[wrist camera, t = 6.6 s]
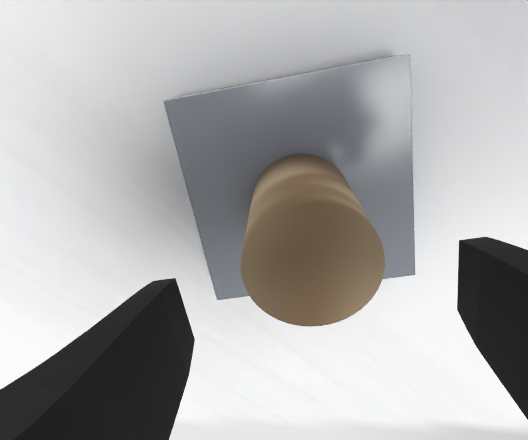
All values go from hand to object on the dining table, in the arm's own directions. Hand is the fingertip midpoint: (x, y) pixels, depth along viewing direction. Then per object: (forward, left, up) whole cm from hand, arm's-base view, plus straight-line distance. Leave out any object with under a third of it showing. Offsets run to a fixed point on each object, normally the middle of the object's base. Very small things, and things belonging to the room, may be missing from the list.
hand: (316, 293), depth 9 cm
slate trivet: (0, 0, -10) cm, 10 cm away
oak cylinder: (0, 0, -8) cm, 8 cm away
